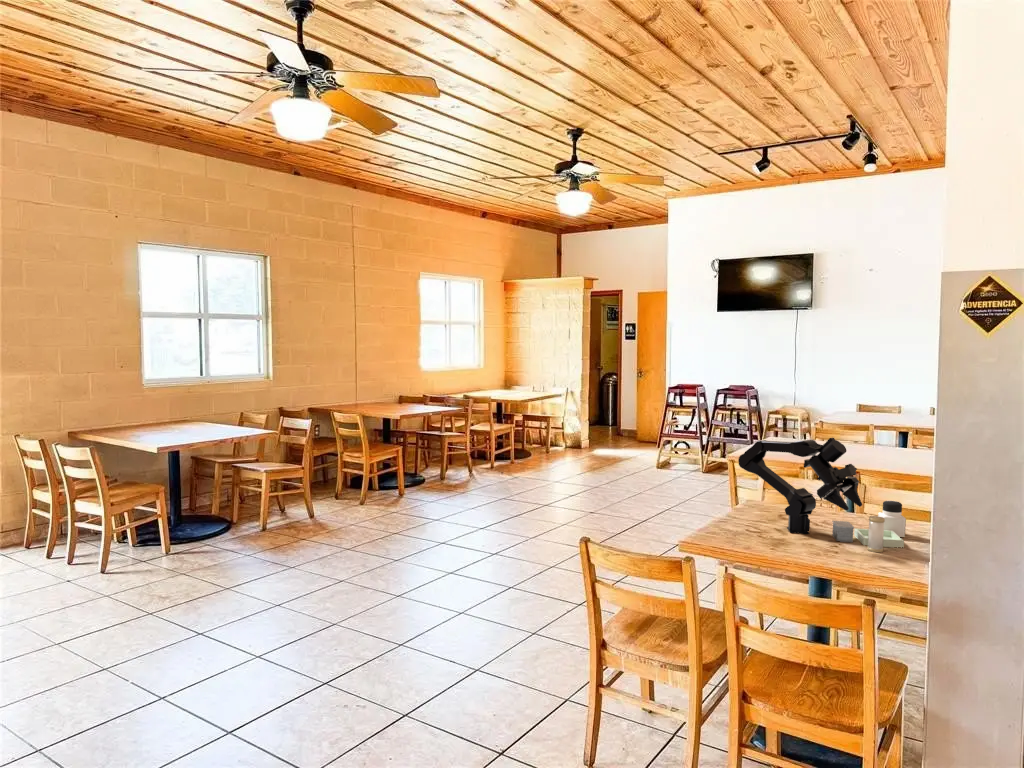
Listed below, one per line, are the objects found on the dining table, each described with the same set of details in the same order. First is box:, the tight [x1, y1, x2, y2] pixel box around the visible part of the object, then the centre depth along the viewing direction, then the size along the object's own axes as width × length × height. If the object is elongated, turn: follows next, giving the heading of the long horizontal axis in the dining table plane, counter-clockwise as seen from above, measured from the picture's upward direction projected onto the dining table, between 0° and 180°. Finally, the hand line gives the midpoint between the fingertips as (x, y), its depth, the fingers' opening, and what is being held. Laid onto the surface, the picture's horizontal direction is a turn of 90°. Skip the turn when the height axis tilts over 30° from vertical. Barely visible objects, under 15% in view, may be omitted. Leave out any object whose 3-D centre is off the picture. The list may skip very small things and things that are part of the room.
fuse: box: [867, 515, 885, 554], centre depth 235 cm, size 5×5×11 cm
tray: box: [853, 527, 905, 549], centre depth 246 cm, size 12×12×2 cm
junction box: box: [831, 520, 855, 544], centre depth 249 cm, size 5×9×5 cm, turn 168°
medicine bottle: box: [877, 500, 907, 538], centre depth 254 cm, size 7×7×12 cm
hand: (854, 507), depth 241 cm, fingers open, 9 cm apart
